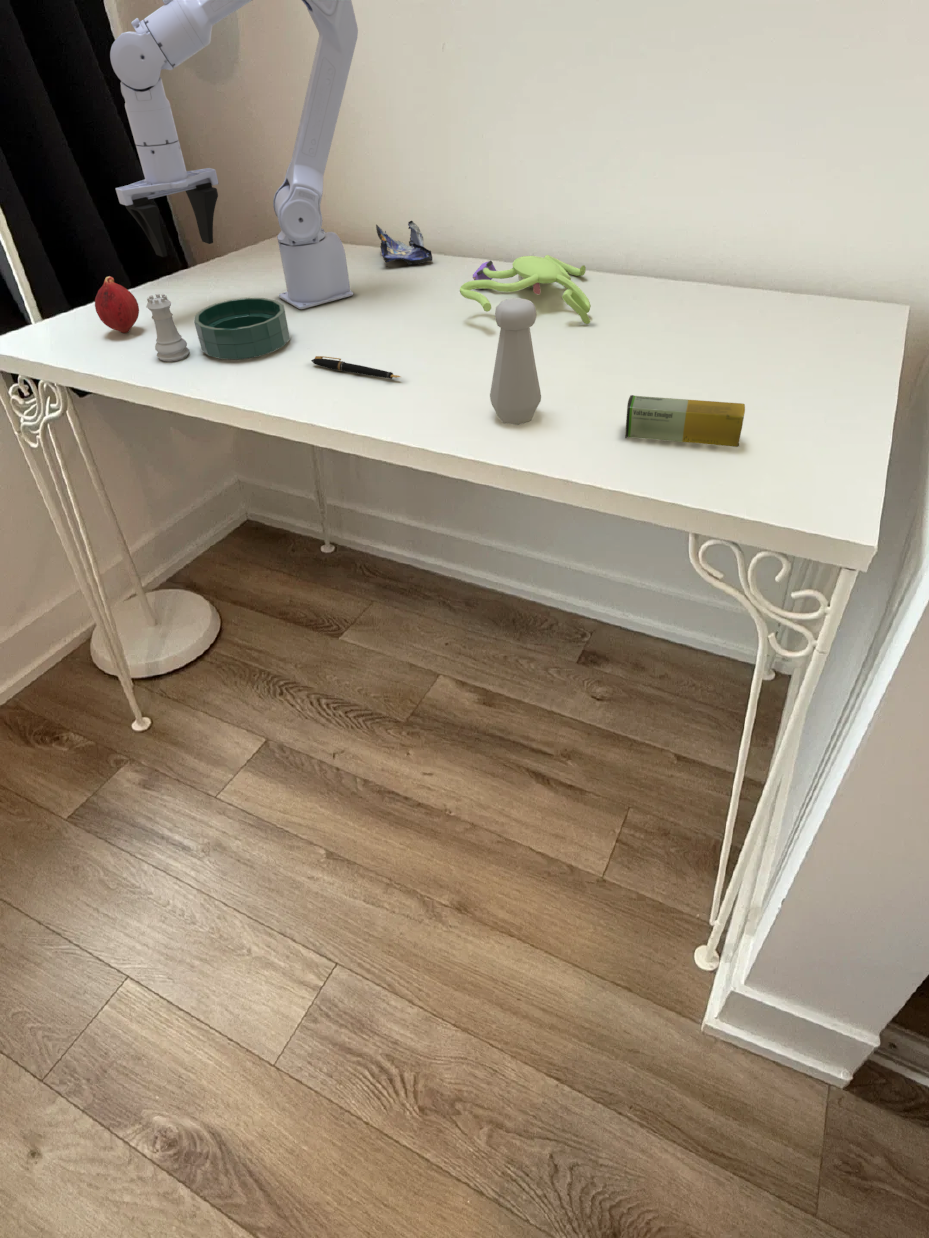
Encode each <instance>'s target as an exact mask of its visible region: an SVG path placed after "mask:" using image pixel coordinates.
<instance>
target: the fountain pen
mask: <svg viewBox="0 0 929 1238" xmlns="http://www.w3.org/2000/svg"><path fill="white" fill-rule="evenodd" d="M310 361H311V362H312V363H313V365H316V366H317V367H320V368H325V369H329V370H332V371H333V370H334V371H338V372H346V373H347V372H348V373H353V374H357V375H362V376H363V375H364V376H370V377H376V378H383V379H388V380H389V379H390V380H392V379H393V378H396V379H398V378H401V376H400V375H398V374H394V373H393V372H392V371H387V370H382V369H378V368H374V367H369V366H365V365H360V364H354V363H350V362H345V361H343V360H342V358H340V357H332V356H324V355H315V357H314V358H313V359H311V360H310Z"/></svg>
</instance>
